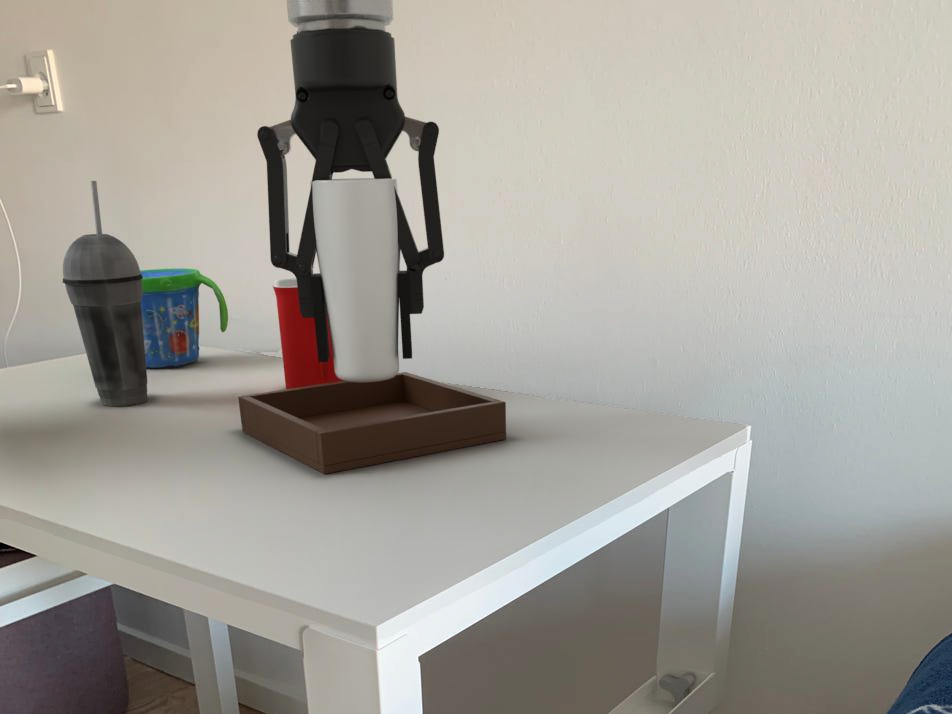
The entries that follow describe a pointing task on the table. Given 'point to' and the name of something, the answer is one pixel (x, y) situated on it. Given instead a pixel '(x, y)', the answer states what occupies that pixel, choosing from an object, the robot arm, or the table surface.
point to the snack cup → (174, 315)
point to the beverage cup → (108, 312)
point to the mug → (300, 341)
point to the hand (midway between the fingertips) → (365, 356)
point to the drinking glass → (359, 274)
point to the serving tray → (371, 421)
